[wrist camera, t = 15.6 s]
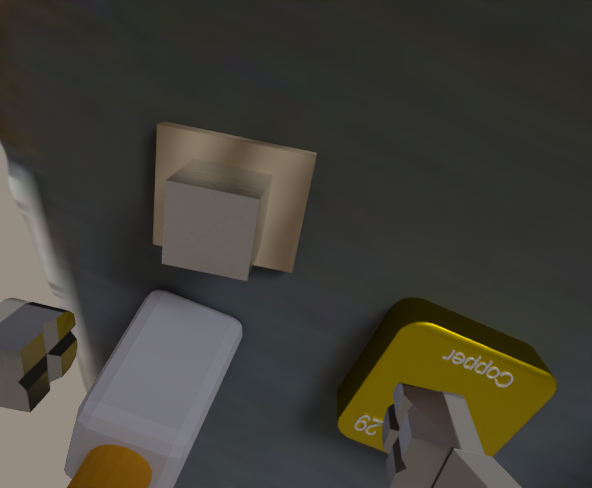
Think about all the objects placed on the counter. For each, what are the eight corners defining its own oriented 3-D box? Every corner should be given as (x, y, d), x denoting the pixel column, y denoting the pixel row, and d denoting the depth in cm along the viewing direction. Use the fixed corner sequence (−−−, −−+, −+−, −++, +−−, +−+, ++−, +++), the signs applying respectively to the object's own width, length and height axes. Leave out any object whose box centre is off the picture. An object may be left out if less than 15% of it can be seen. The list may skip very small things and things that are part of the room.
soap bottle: (123, 381, 43) (-65, 668, 22) (154, 279, 37) (-61, 541, 17) (207, 412, 43) (98, 715, 23) (250, 317, 38) (155, 610, 18)
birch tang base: (316, 152, 31) (313, 170, 26) (293, 264, 35) (286, 298, 30) (164, 121, 31) (132, 132, 26) (159, 237, 35) (131, 266, 30)
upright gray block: (272, 174, 30) (259, 199, 25) (261, 244, 33) (247, 281, 27) (195, 158, 30) (165, 180, 25) (190, 230, 33) (161, 263, 27)
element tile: (545, 349, 37) (573, 387, 33) (454, 447, 43) (468, 490, 39) (402, 287, 36) (411, 318, 31) (329, 398, 42) (329, 437, 37)
